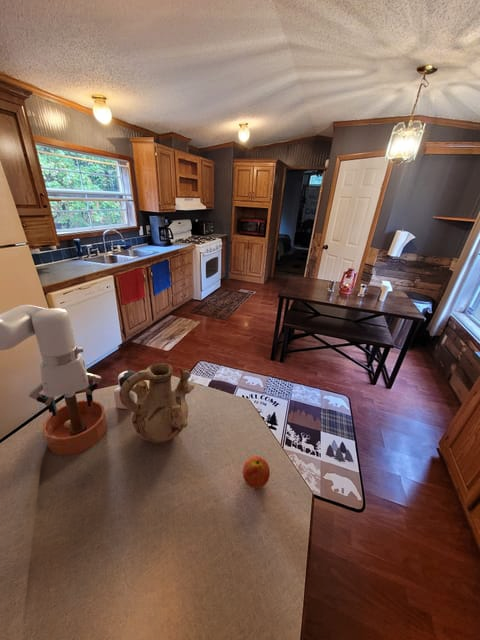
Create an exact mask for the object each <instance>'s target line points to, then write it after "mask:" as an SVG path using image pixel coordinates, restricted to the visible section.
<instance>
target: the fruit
mask: <svg viewBox="0 0 480 640" xmlns="http://www.w3.org/2000/svg"><path fill="white" fill-rule="evenodd" d="M242 476H243V478H244V482H245V483H246V484H247V485H248V486H249V487H250V488H252V489H260V488H263V487H264V486H266V485H267V483H268V482H269V479H270V476H271V471H270V465H269V464H268V462H267V461H266V459H264V458H263V457H261V456H257V455H256V456H255V455H254V456H251V457H249V458H248V459H247V460H246V461H245V462H244V464H243V467H242Z"/></svg>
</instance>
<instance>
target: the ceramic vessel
mask: <svg viewBox="0 0 480 640" xmlns="http://www.w3.org/2000/svg"><path fill="white" fill-rule="evenodd" d="M173 370H174V368H173V366H171V365H170V364H169V363H163V362H162V363H153V364H151V365H149V366H147V368H146V369H142V370H139V371H137V372H136V374H134V375H132V376H131V377H129V378H128V379H127V380H126V381H125V382H124V383H123V385H122V387H121V389H120V393H119V396H120V400H121V402H122V404H123V405H124V406H125V407H126V408H127V409H126V410H128V411H130V412H131V416H130V417H131V419H130V420H131V424H132V426H133V428H134V430H135V432H136V433H137V434H138V436H139V437H140V438H142V439H143V440H145V441H147V442H152V443H154V444H155V443H156V444H165V443H169V442H170V441H171V440H172V439H174V438H176V437H177V436H178V435H179V434H180V433H181V432H182V431H183V430H184V429H186V428H187V427H188V426H189V422H188V417H189V406H188V405H189V404H188V403H187V400H186V396H187V394H190V393H191V392H192V391H193V390H194V389H195V386H194V384H191V383H189V382H188V381H189V379H190V378H191V376H192V374H191V372H190V370H184V369H182V368H181V369H180V370H179V372H180V376H179V381H178V382H177V385H176V387H175V389H172V377H173ZM147 381H148V382H149V383H148V382H147ZM135 384H136V385H135ZM130 391H133V392H135V393H136V394H137V402H136V403H135V402H134V401H133V400H132V398H131V397H130Z"/></svg>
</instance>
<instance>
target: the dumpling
mask: <svg viewBox="0 0 480 640" xmlns="http://www.w3.org/2000/svg"><path fill="white" fill-rule="evenodd" d="M70 426H71V422H70V420H67V421H66V422H65V423H64V427H65V428H69V427H70Z"/></svg>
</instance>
